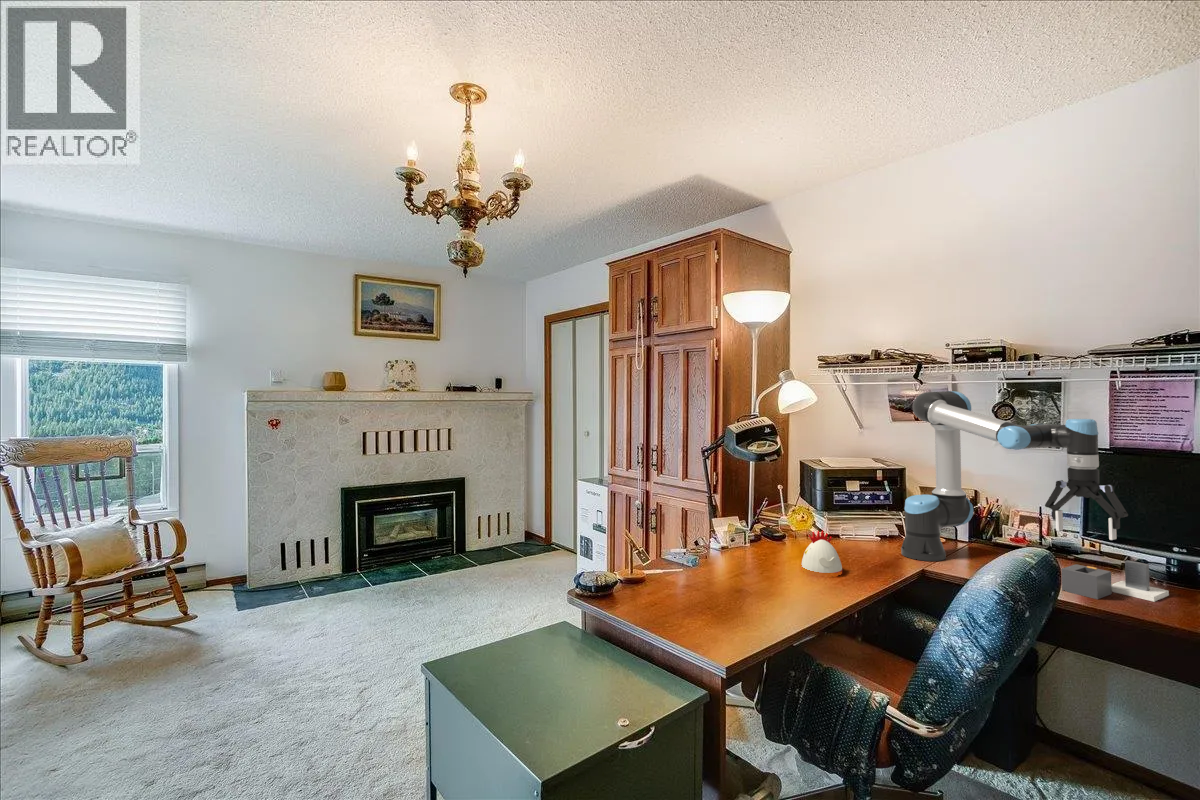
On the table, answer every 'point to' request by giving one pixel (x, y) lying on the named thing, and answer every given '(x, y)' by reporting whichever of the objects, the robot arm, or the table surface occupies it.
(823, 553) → the kitchen timer
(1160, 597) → the shaft stand
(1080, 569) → the gray slotted block
